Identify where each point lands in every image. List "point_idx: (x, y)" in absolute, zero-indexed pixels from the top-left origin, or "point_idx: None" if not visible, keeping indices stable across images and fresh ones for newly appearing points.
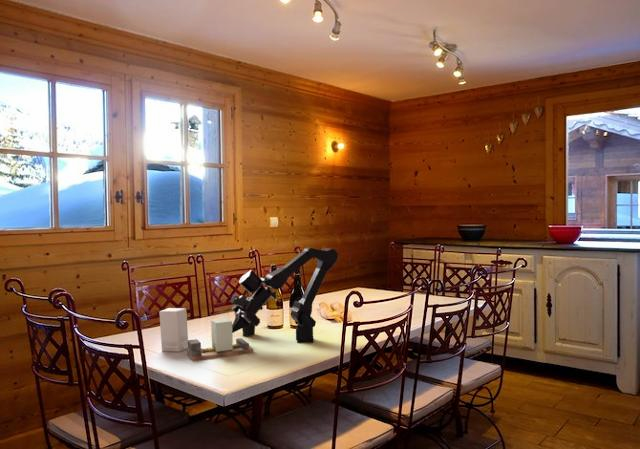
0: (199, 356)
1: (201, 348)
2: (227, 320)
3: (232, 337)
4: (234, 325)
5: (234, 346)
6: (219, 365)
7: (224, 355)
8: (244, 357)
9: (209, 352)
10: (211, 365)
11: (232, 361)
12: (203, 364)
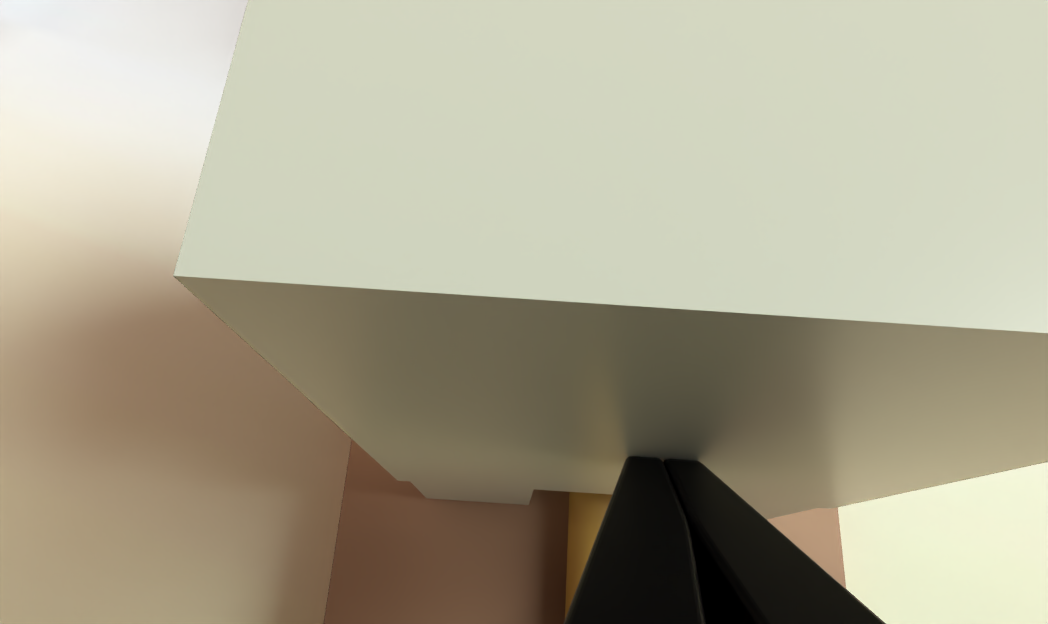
0: None
1: None
2: (592, 125)
3: (374, 458)
4: (572, 610)
5: (566, 591)
6: (27, 156)
7: None
8: (99, 602)
9: None
10: (106, 85)
11: (52, 353)
12: (217, 31)
